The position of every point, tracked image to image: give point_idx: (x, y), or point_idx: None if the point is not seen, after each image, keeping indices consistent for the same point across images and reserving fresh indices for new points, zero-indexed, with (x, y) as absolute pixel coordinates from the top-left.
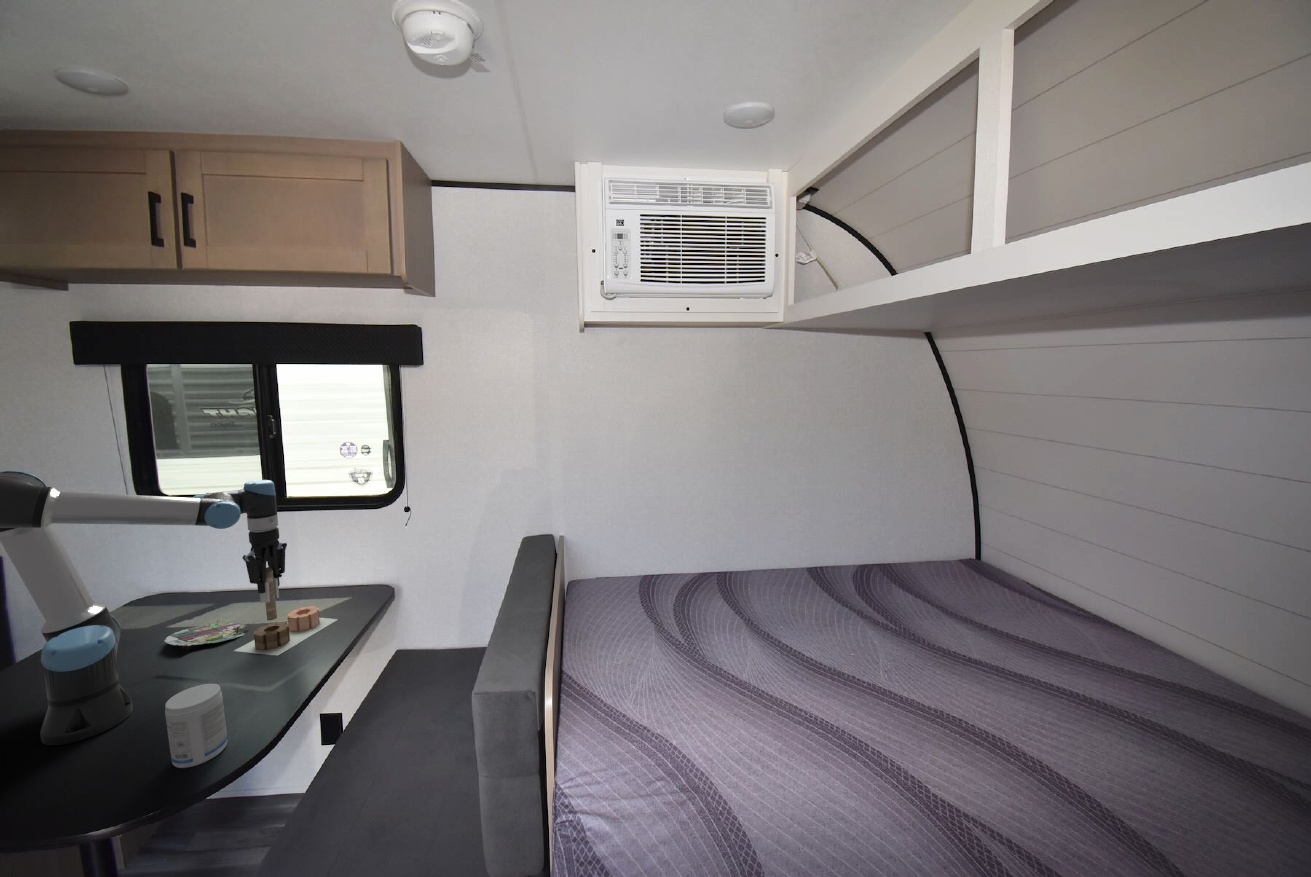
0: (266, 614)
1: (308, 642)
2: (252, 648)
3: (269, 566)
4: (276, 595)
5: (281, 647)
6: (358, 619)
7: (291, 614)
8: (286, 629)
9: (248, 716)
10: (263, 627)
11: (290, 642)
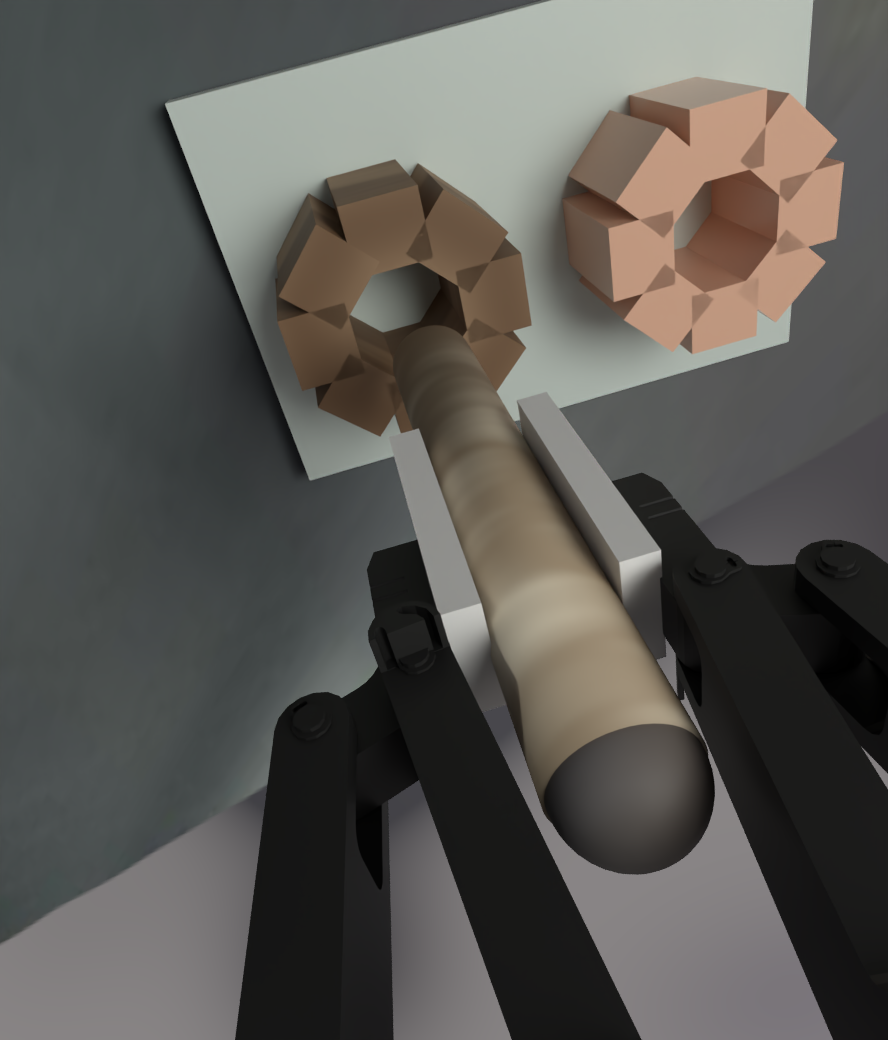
0: (403, 377)
1: None
2: (270, 221)
3: (759, 766)
4: None
5: None
6: (825, 407)
7: (661, 183)
8: None
9: (8, 803)
10: (393, 224)
11: None
